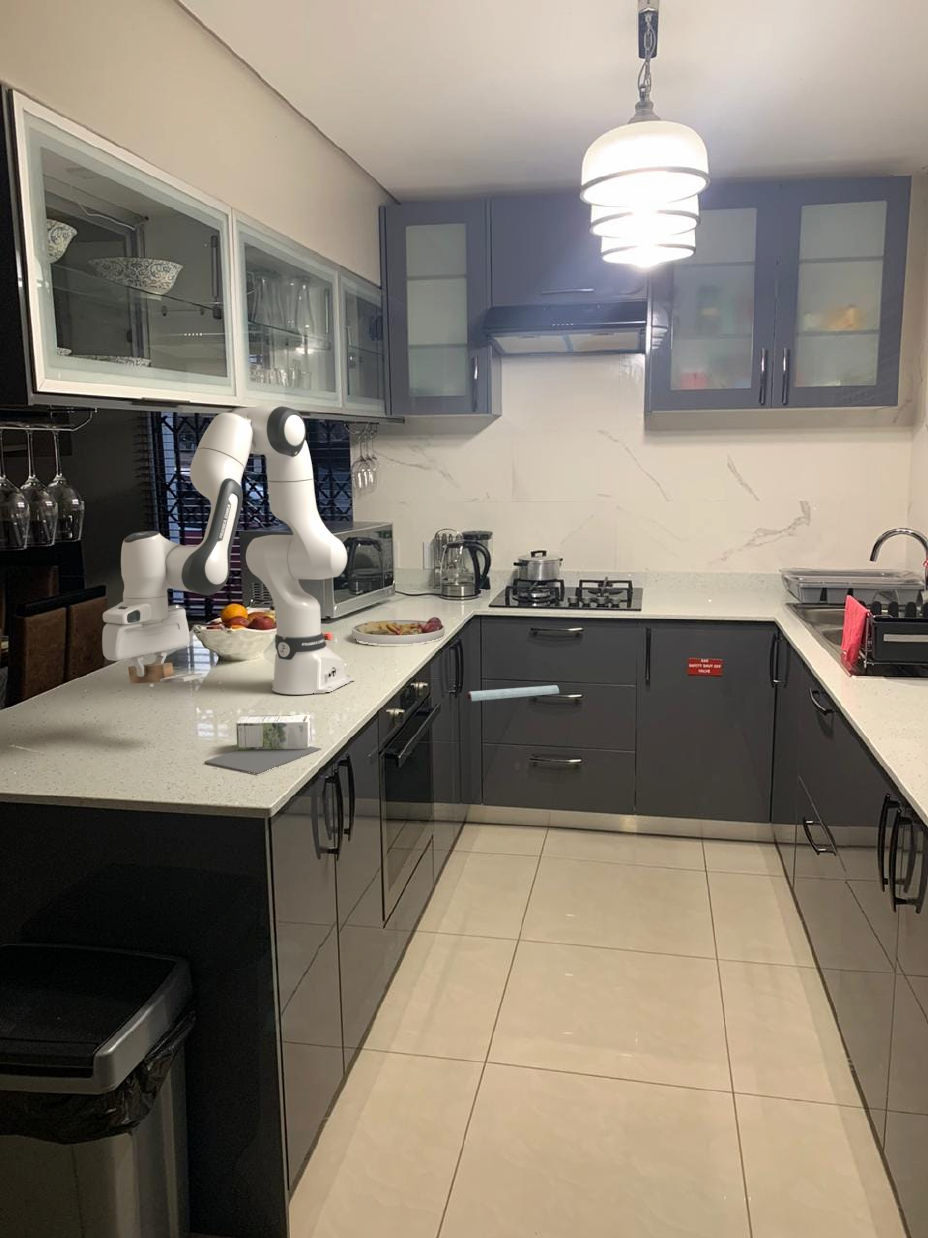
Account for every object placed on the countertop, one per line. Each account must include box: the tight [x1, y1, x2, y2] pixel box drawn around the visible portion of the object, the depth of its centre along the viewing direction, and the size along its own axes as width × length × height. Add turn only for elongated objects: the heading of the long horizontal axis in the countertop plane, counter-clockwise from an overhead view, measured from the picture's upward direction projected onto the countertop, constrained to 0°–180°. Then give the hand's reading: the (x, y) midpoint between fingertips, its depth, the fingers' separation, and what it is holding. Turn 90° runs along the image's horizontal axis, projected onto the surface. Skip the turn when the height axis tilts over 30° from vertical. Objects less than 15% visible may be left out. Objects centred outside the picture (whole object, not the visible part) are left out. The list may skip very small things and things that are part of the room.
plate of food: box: [351, 616, 446, 644], centre depth 308 cm, size 30×30×8 cm
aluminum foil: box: [467, 684, 560, 702], centre depth 230 cm, size 23×7×3 cm, turn 106°
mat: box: [204, 745, 322, 775], centre depth 187 cm, size 18×14×1 cm
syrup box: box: [235, 714, 313, 750], centre depth 193 cm, size 6×6×14 cm
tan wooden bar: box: [127, 662, 203, 685], centre depth 200 cm, size 18×5×4 cm, turn 59°
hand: (149, 674), depth 202 cm, fingers closed on tan wooden bar, 2 cm apart
